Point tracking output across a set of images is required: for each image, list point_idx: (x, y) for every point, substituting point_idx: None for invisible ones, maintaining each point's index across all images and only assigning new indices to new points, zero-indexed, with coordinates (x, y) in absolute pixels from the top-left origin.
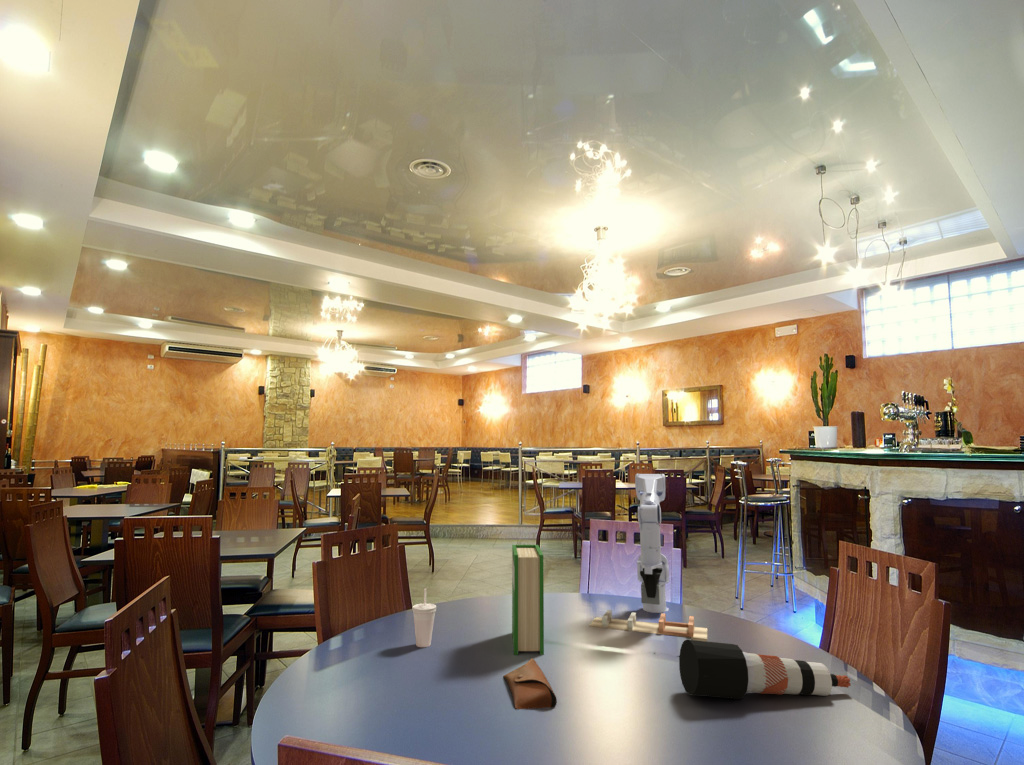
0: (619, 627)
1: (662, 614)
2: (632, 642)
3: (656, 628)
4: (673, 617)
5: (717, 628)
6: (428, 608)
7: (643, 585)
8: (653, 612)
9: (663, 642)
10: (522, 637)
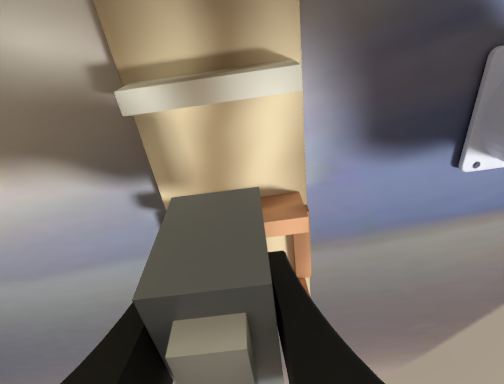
0: (140, 26)
1: (289, 224)
2: (39, 132)
3: (228, 187)
4: (460, 190)
5: (355, 308)
6: None
7: (143, 312)
8: (486, 119)
9: (127, 223)
10: None
